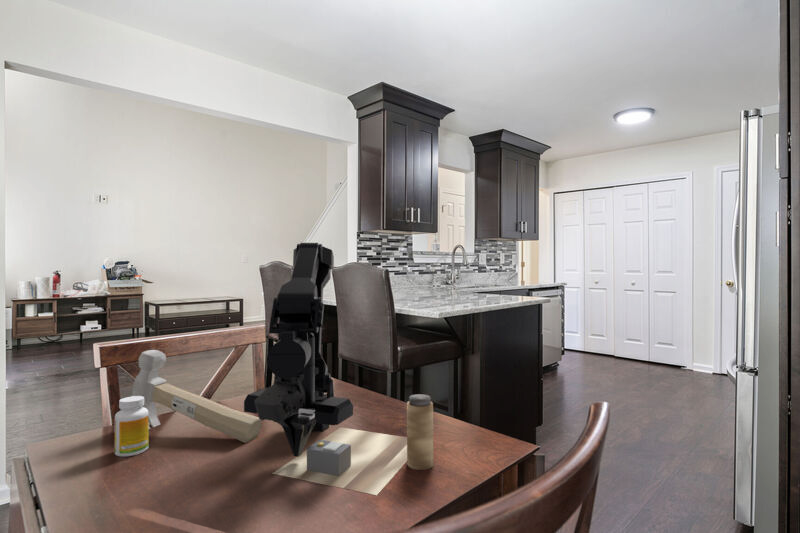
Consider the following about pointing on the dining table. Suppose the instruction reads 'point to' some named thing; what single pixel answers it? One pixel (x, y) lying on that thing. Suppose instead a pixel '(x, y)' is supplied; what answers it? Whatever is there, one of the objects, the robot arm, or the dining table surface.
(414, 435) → the marker peg
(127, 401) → the supplement bottle
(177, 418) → the dining table surface
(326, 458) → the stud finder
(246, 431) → the hammer
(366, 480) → the plywood panel
